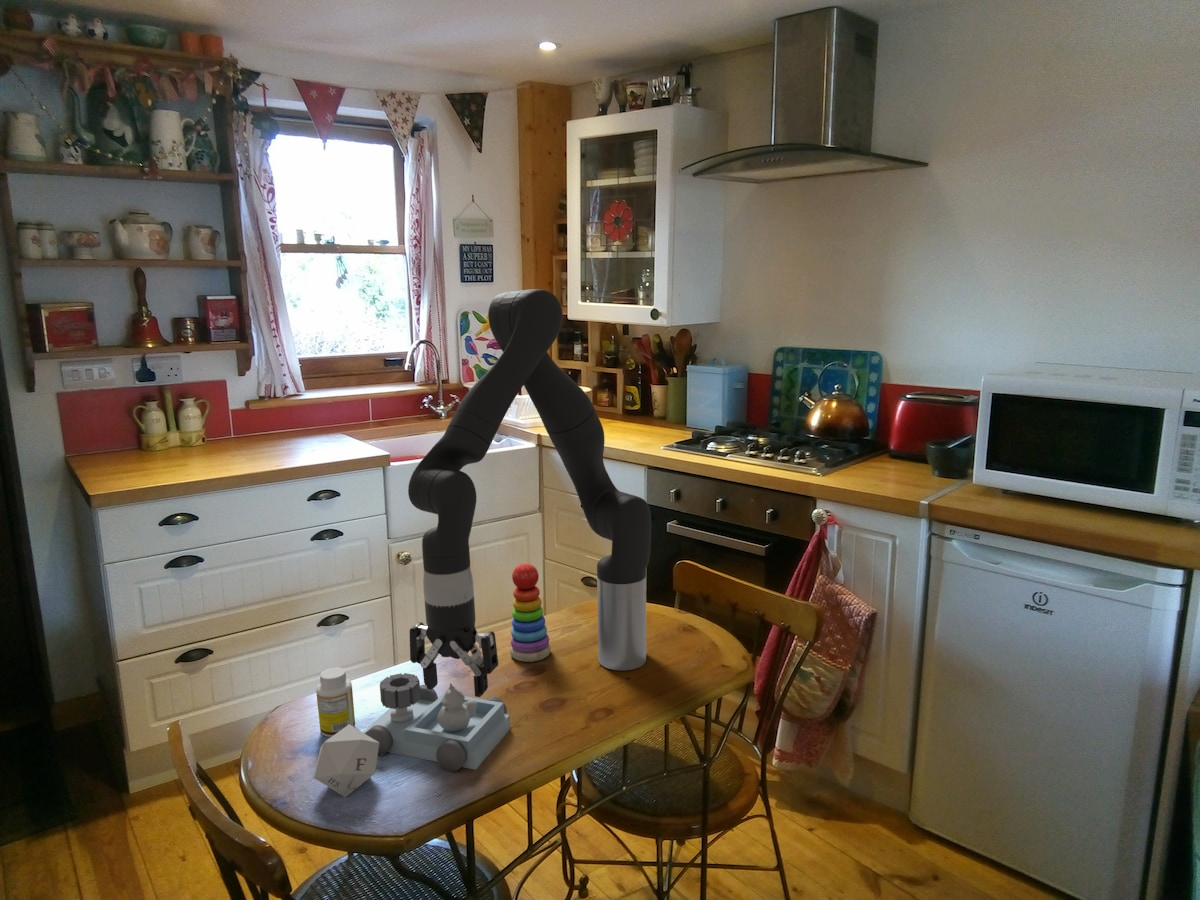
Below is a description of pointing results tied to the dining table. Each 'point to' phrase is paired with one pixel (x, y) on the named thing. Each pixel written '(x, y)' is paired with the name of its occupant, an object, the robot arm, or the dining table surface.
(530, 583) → the stacking toy
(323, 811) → the dining table surface
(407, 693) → the spare wheel
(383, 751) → the chassis
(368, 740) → the die
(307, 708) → the dining table surface
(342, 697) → the supplement bottle
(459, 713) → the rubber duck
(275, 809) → the dining table surface
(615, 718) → the dining table surface
